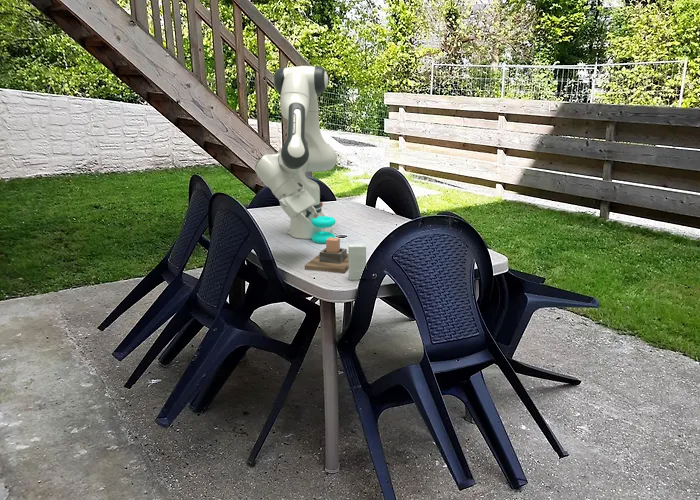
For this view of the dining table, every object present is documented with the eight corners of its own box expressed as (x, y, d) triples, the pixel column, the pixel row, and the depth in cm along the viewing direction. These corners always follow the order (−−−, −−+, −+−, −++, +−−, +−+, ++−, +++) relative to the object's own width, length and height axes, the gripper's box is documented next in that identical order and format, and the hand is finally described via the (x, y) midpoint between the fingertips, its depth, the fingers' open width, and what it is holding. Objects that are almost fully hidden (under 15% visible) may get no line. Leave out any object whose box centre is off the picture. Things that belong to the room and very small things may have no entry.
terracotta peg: (329, 257, 240) (329, 237, 238) (339, 258, 239) (339, 238, 237) (326, 260, 237) (326, 239, 235) (336, 261, 236) (336, 240, 233)
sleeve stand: (323, 254, 250) (323, 242, 248) (360, 258, 246) (360, 245, 244) (304, 269, 231) (304, 256, 230) (344, 273, 227) (344, 259, 226)
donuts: (314, 215, 273) (337, 216, 271) (315, 237, 276) (337, 238, 274) (308, 220, 264) (332, 221, 262) (309, 243, 266) (332, 244, 265)
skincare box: (365, 276, 224) (365, 243, 221) (366, 280, 220) (366, 246, 217) (348, 276, 224) (348, 243, 220) (348, 280, 220) (348, 246, 216)
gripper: (282, 192, 226) (308, 221, 226) (303, 182, 245) (327, 209, 245) (271, 203, 228) (297, 232, 228) (292, 193, 247) (316, 219, 247)
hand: (313, 220), depth 237 cm, fingers open, 8 cm apart
